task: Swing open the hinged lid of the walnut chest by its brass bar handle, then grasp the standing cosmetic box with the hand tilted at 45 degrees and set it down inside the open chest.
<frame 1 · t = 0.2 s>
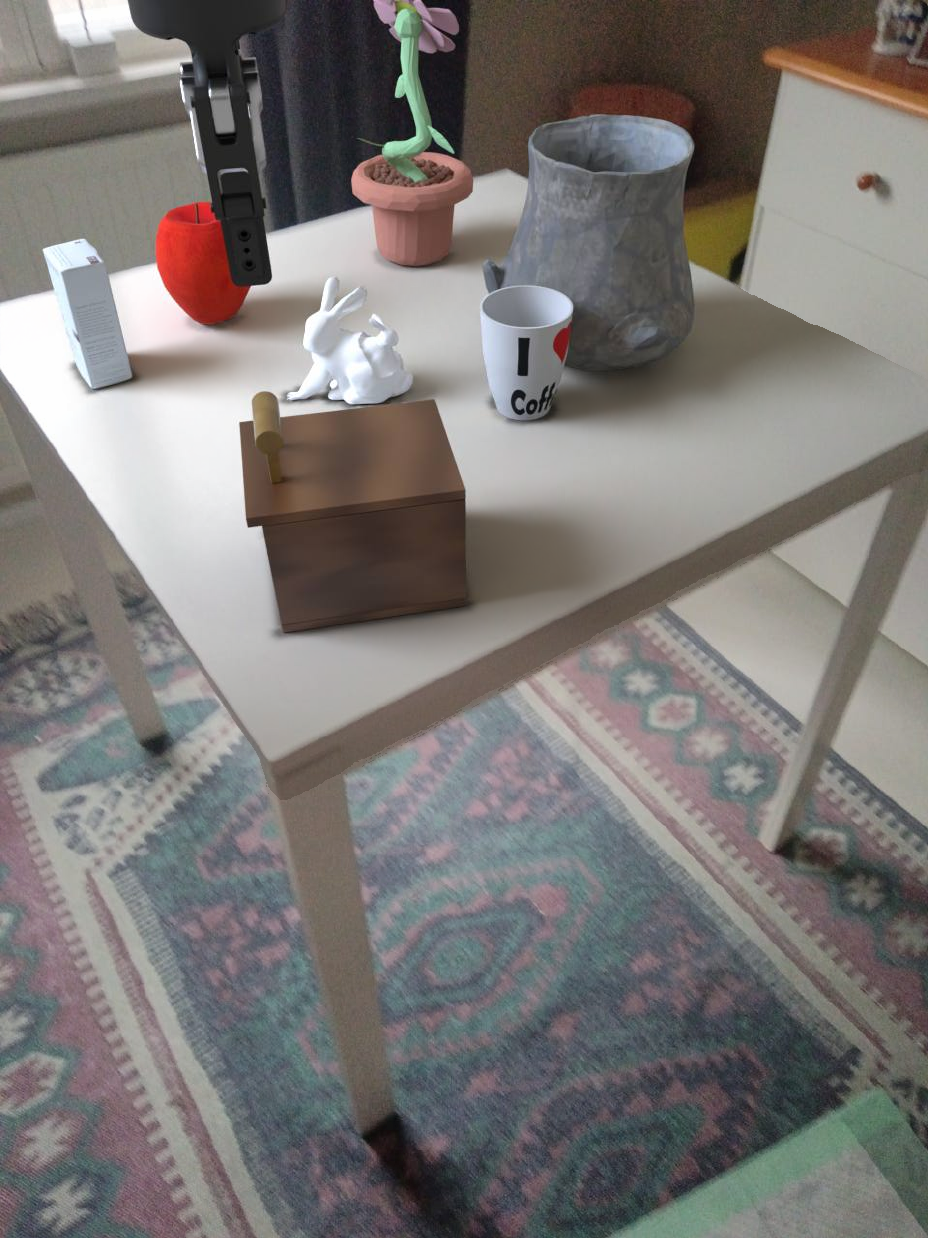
hand: (249, 250, 57), 26 cm above the table, tool pointing down, fingers open, 8 cm apart
vessel: (596, 349, 100), on the table
chest: (365, 568, 76), on the table
decorative flower: (419, 256, 117), on the table
cup: (523, 407, 92), on the table
lid: (344, 433, 67), point 12 cm above the table, hinge at 0.0°
rabbit figurine: (355, 387, 95), on the table
cosmetic box: (106, 373, 98), on the table
apple: (216, 320, 106), on the table
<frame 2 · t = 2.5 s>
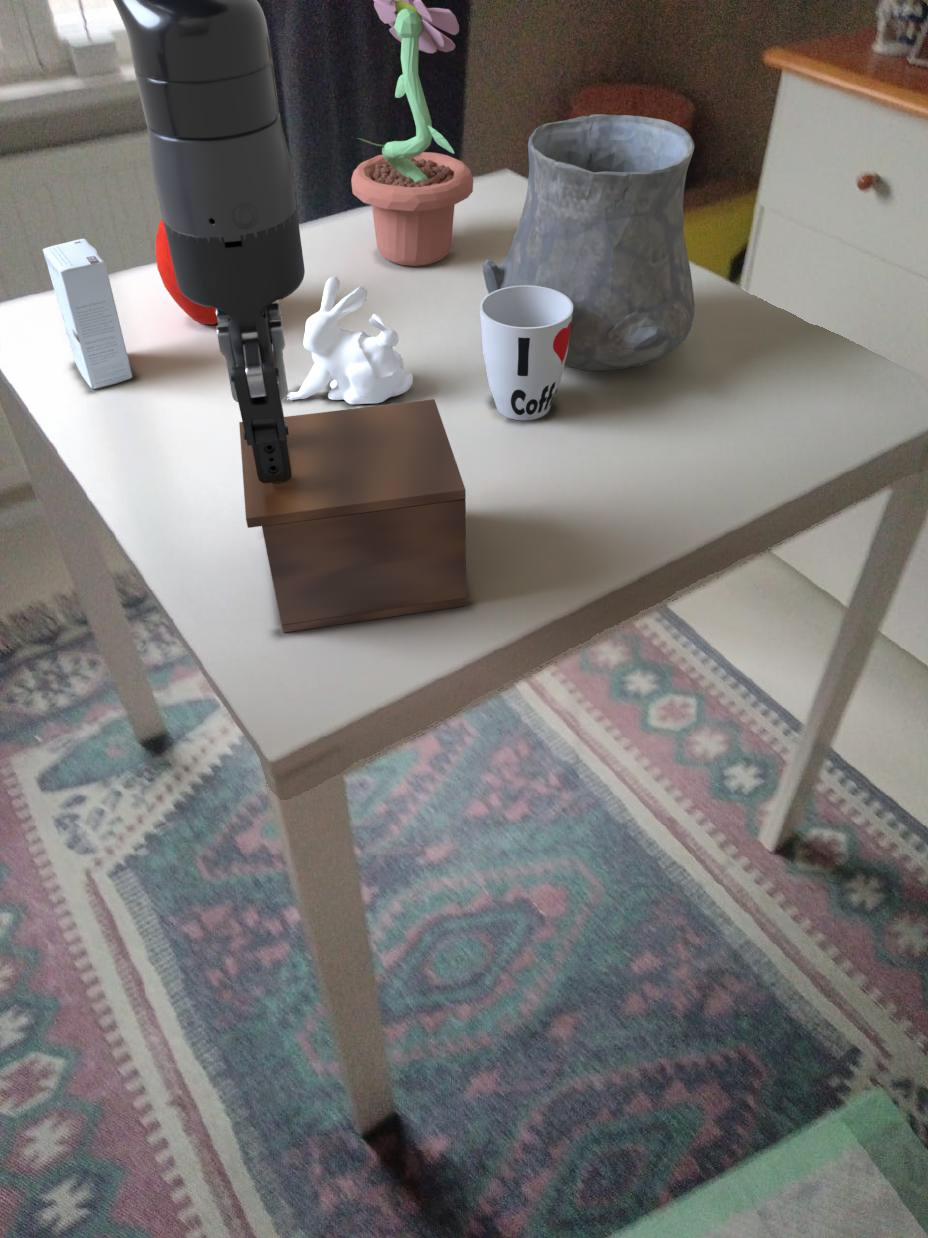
hand: (272, 454, 67), 11 cm above the table, tool pointing down, fingers closed on lid, 5 cm apart
lid: (344, 433, 67), point 12 cm above the table, hinge at 0.0°, touching gripper
everything else where it was.
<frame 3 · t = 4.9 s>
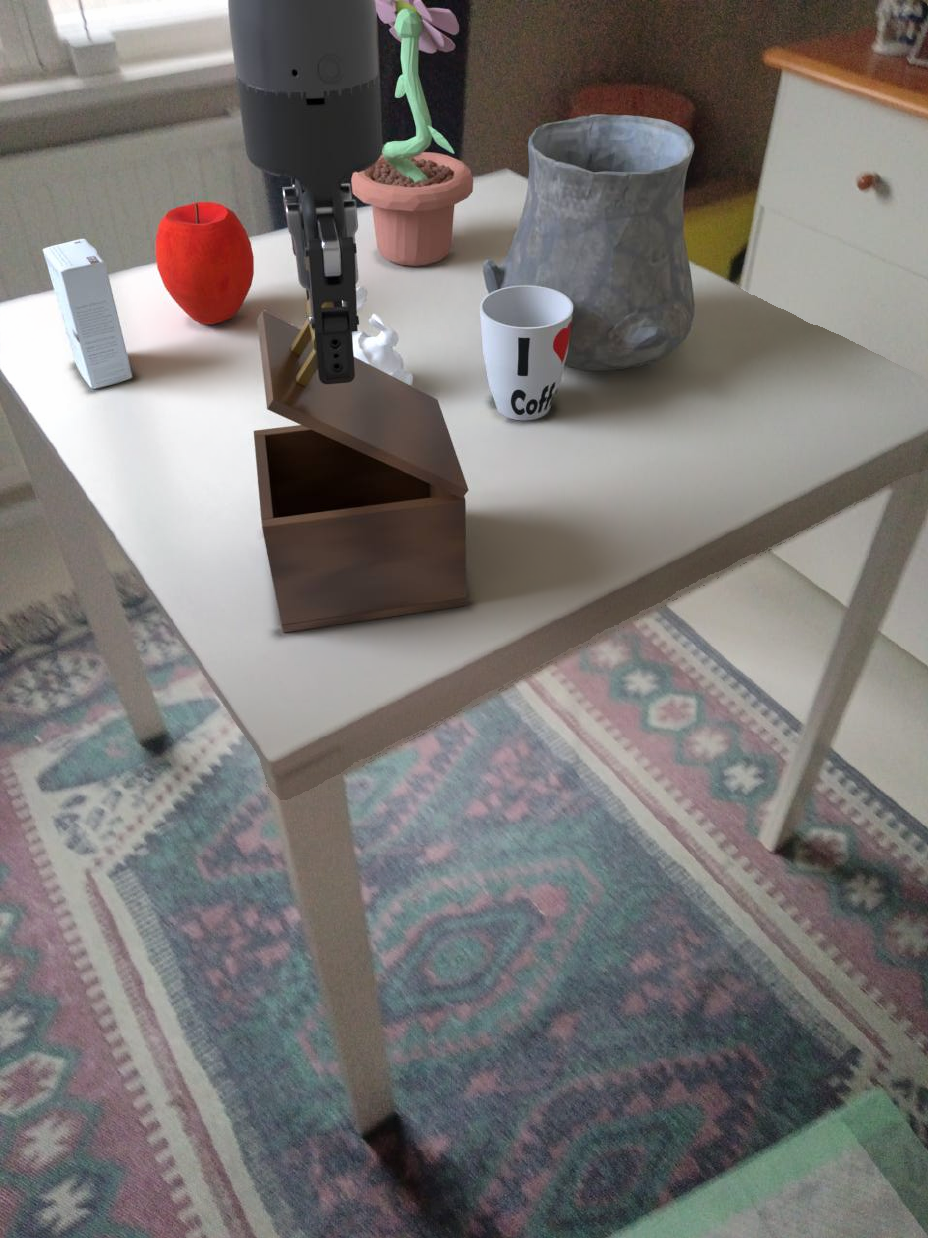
hand: (332, 357, 63), 18 cm above the table, tool pointing down, fingers closed on lid, 5 cm apart
lid: (378, 379, 65), point 16 cm above the table, hinge at 35.9°, touching gripper
everything else where it was.
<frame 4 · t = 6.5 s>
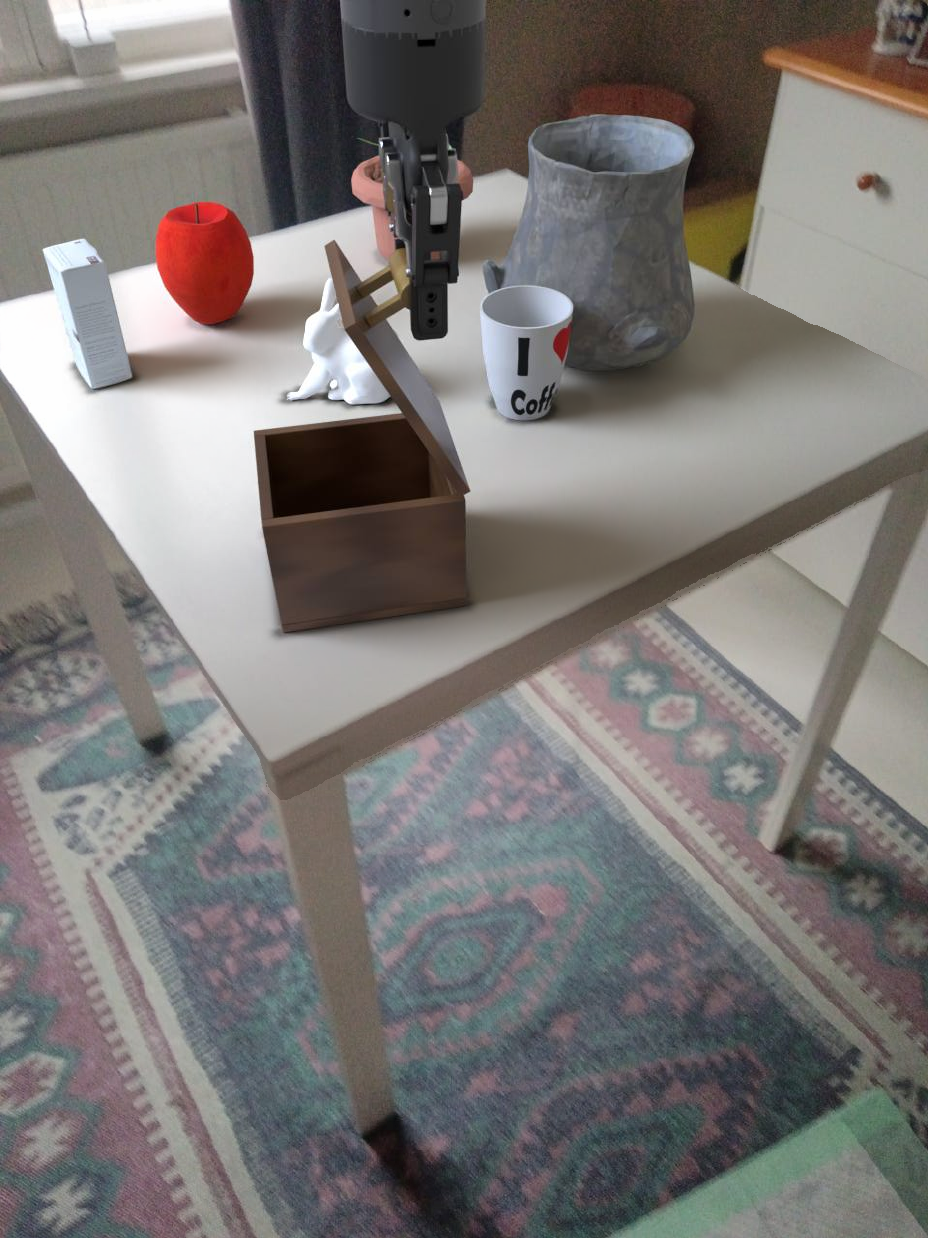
hand: (421, 314, 62), 20 cm above the table, tool pointing down, fingers closed on lid, 5 cm apart
lid: (425, 353, 64), point 18 cm above the table, hinge at 63.0°, touching gripper
everything else where it was.
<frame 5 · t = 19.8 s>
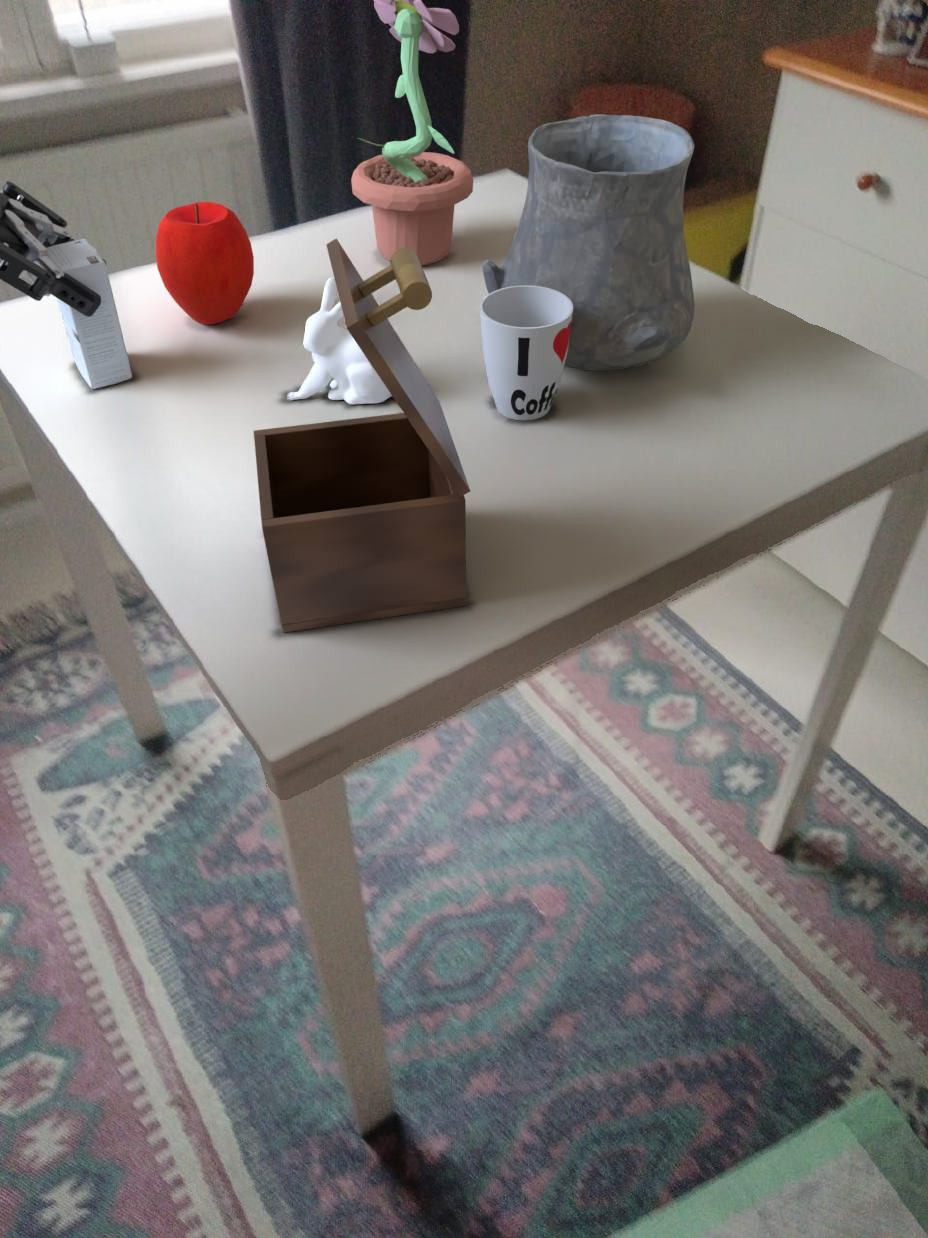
hand: (99, 289, 92), 8 cm above the table, tool tilted 45°, fingers closed on cosmetic box, 7 cm apart
lid: (426, 353, 64), point 18 cm above the table, hinge at 63.6°
cosmetic box: (106, 373, 98), on the table, touching gripper
everything else where it was.
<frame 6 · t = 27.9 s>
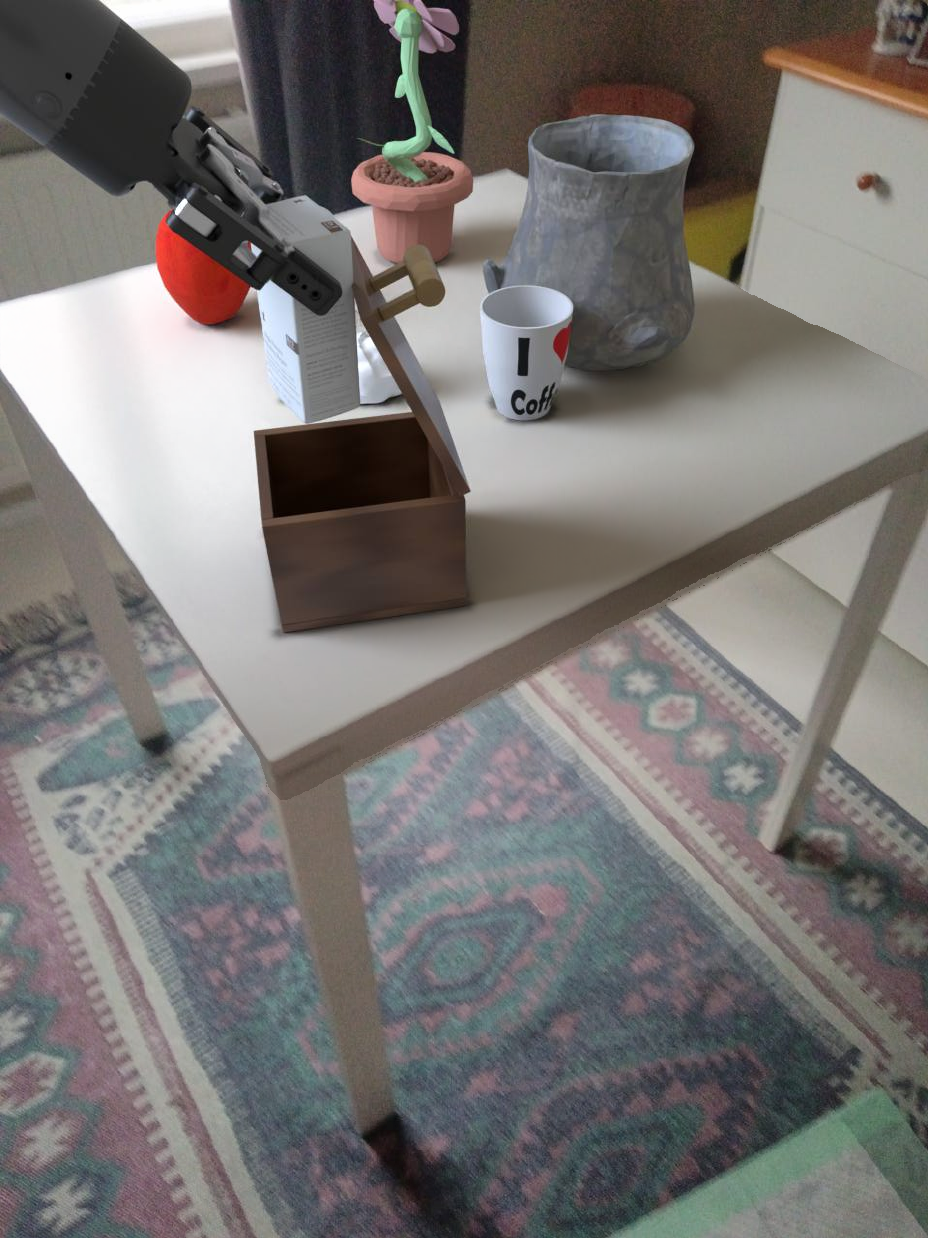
hand: (326, 274, 60), 23 cm above the table, tool tilted 45°, fingers closed on cosmetic box, 7 cm apart
lid: (434, 351, 64), point 18 cm above the table, hinge at 67.3°, touching cosmetic box
cosmetic box: (318, 400, 66), point 15 cm above the table, touching gripper, lid
everything else where it was.
when the fingers open (21 cm above the table, at t = 28.7 s): cosmetic box drops 12 cm, resting on chest.
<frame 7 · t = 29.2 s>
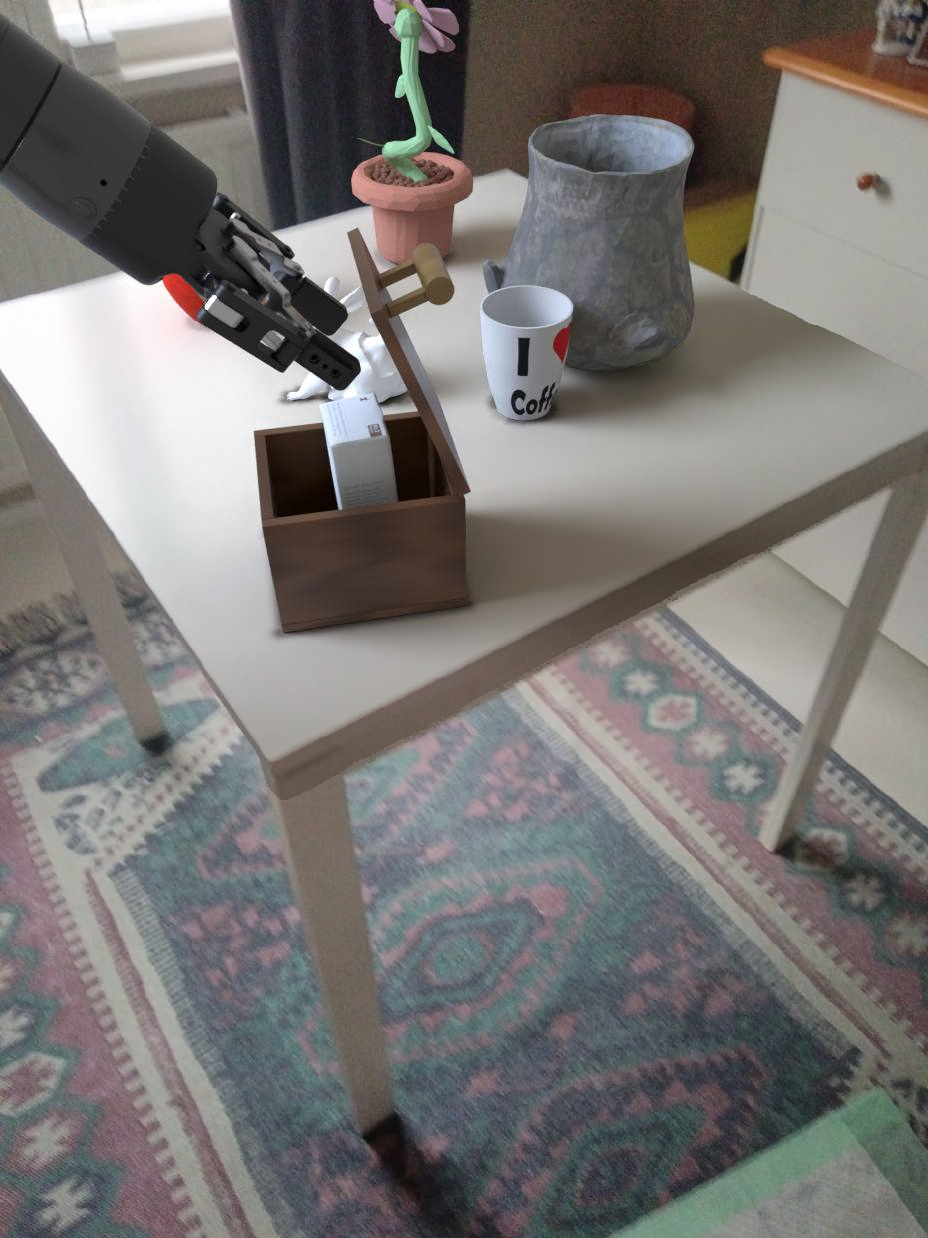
hand: (345, 349, 63), 19 cm above the table, tool tilted 45°, fingers open, 6 cm apart
lid: (438, 350, 64), point 18 cm above the table, hinge at 69.8°
cosmetic box: (377, 556, 75), point 1 cm above the table, touching chest
everything else where it was.
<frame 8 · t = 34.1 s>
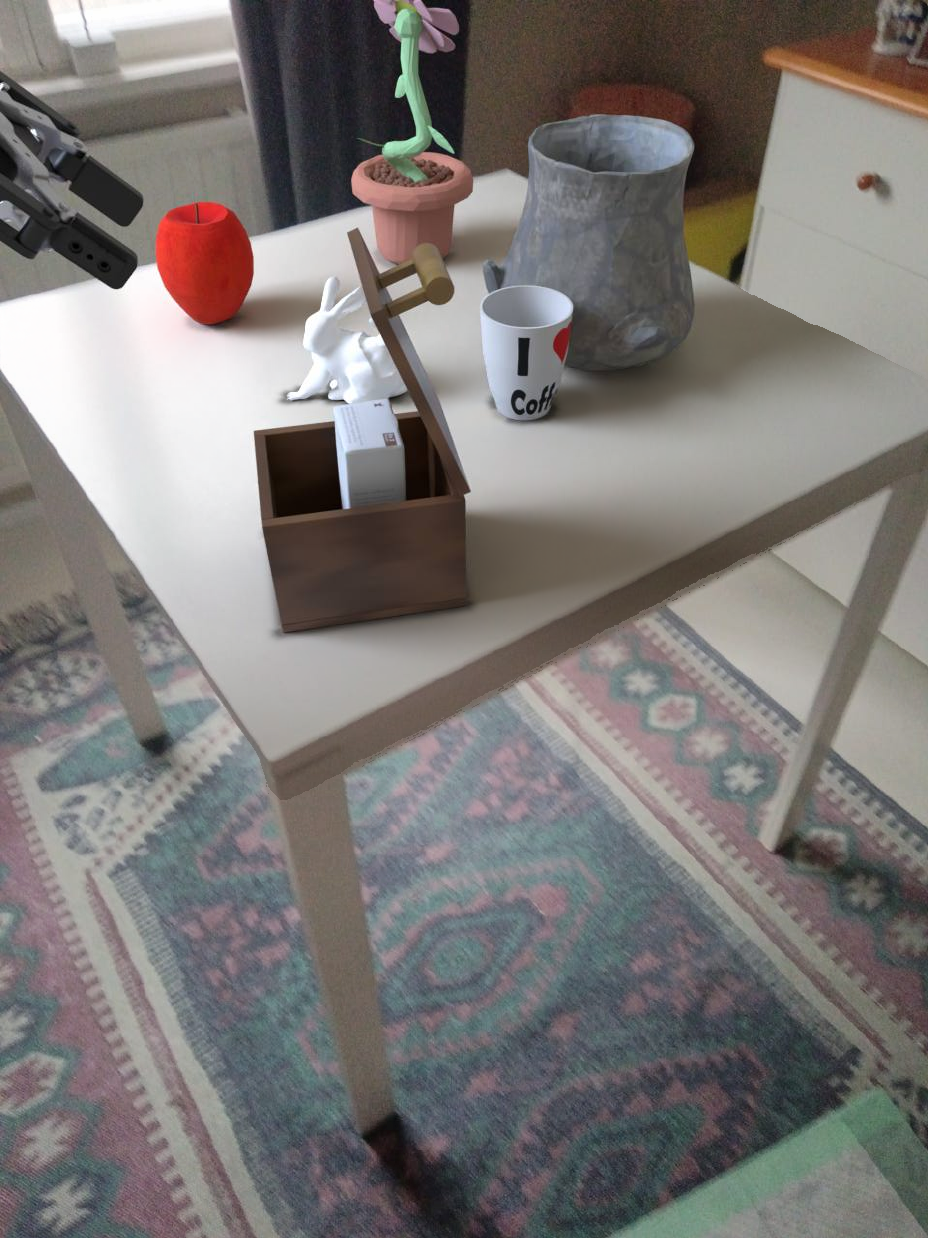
hand: (133, 242, 56), 27 cm above the table, tool tilted 45°, fingers open, 8 cm apart
at the end: lid at +70° (first picture: +0°); cosmetic box inside the target area in the chest (1.0 cm from its centre), point 0.6 cm above the chest's base; the gripper is holding nothing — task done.
